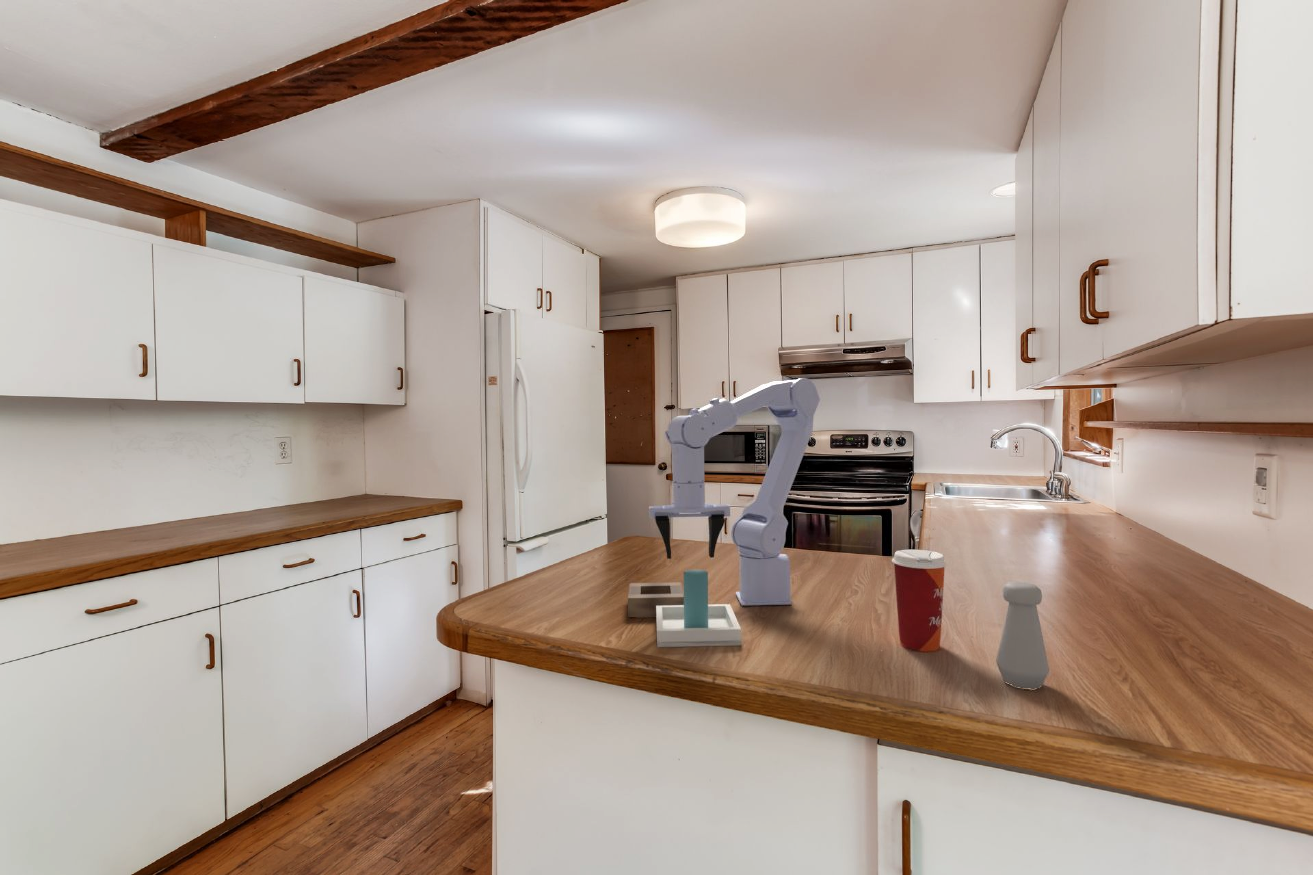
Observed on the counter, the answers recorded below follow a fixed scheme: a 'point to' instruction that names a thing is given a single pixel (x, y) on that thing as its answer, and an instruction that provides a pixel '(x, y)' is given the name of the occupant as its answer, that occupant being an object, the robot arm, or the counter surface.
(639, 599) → the socket block
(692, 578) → the dowel
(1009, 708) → the counter surface
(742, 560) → the robot arm
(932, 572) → the paper cup
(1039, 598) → the salt shaker
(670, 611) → the tray
